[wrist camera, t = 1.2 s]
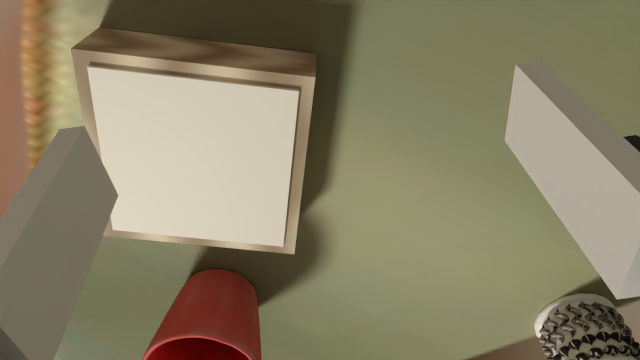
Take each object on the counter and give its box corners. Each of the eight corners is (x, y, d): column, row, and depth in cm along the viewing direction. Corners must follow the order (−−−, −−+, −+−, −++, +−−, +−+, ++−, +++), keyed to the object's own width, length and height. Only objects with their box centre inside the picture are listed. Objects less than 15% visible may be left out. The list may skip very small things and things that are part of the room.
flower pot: (280, 265, 48) (270, 348, 40) (262, 335, 54) (251, 418, 46) (173, 246, 47) (141, 327, 39) (167, 319, 53) (139, 402, 45)
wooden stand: (316, 53, 36) (315, 79, 32) (297, 219, 45) (294, 256, 41) (99, 27, 35) (68, 50, 31) (123, 202, 44) (101, 238, 40)
